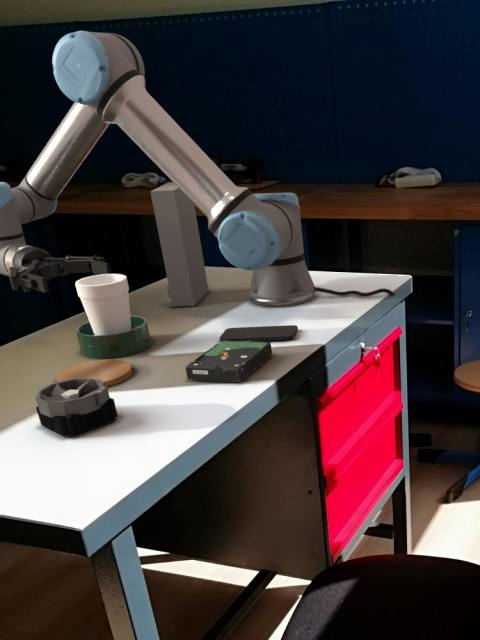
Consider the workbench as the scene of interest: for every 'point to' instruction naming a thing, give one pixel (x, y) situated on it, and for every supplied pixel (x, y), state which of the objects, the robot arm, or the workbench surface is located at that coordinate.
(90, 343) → the pot
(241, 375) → the disk drive
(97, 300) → the foam cup
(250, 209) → the robot arm
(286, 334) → the phone
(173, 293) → the tall grey upright pillar
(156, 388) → the workbench surface
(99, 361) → the pot holder
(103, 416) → the cpu cooler
